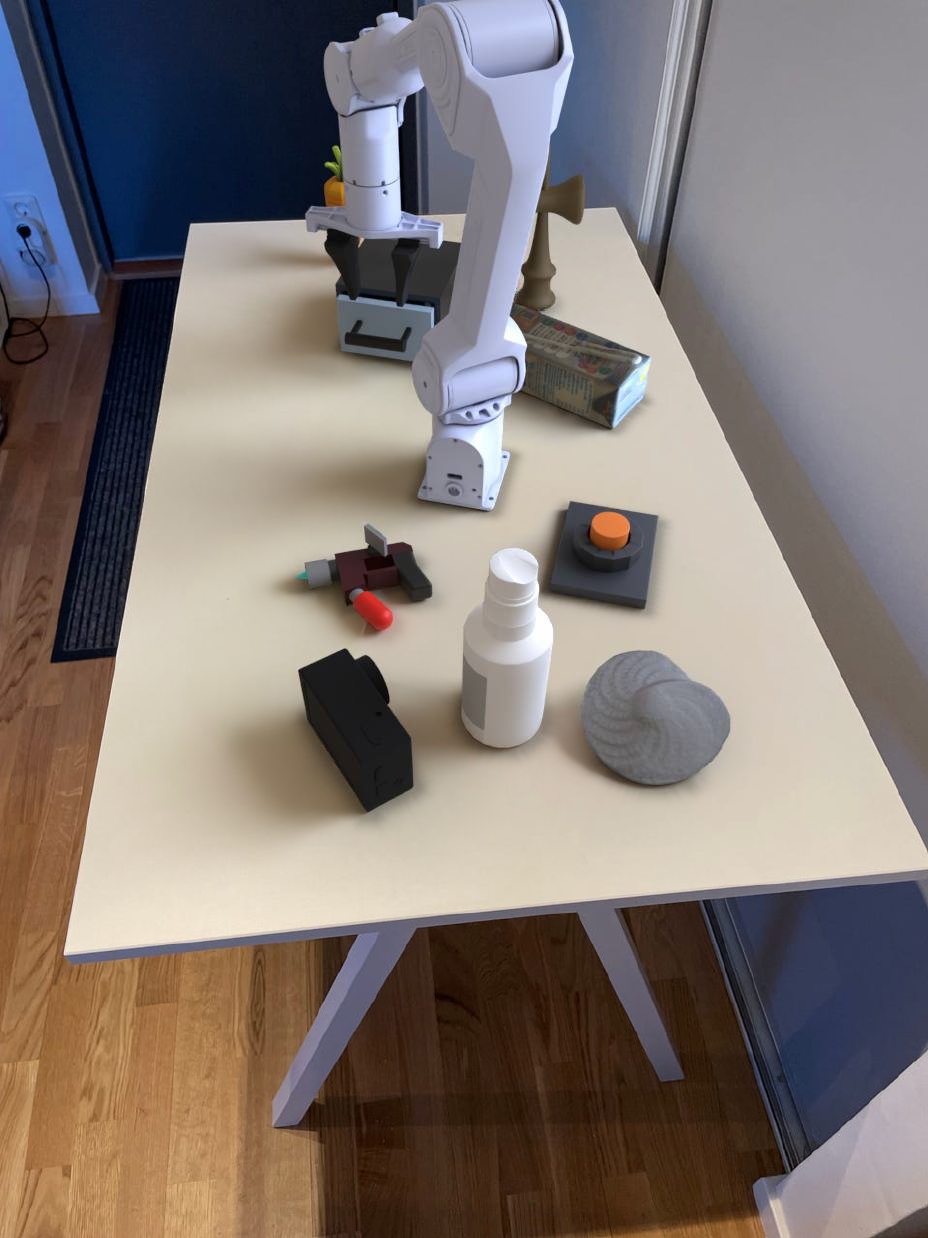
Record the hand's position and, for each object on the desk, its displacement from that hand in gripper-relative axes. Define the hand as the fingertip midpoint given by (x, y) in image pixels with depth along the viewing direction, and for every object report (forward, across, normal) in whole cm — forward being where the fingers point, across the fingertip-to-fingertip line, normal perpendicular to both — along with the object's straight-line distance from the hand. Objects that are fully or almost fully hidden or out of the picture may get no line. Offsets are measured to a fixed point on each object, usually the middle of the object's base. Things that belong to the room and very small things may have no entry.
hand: (378, 299), depth 103 cm
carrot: (+10, +12, -24) cm, 29 cm away
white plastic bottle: (+10, -24, +46) cm, 53 cm away
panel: (+9, -30, +25) cm, 40 cm away
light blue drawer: (+9, 0, -6) cm, 10 cm away
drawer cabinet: (+9, 0, -10) cm, 14 cm away
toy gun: (+10, -9, +36) cm, 38 cm away
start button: (+7, -30, +25) cm, 40 cm away
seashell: (+10, -36, +45) cm, 58 cm away
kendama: (+10, -15, -20) cm, 27 cm away
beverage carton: (+10, -21, -2) cm, 23 cm away
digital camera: (+10, -14, +52) cm, 55 cm away
